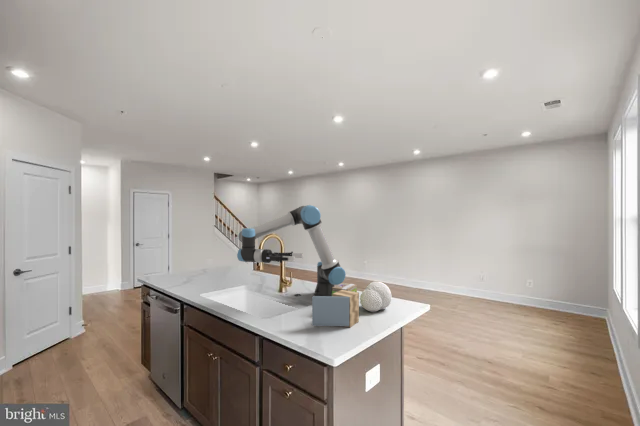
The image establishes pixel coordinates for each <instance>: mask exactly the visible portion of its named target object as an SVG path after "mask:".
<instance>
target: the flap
mask: <svg viewBox="0 0 640 426" xmlns="http://www.w3.org/2000/svg"><path fill="white" fill-rule="evenodd" d="M311 298H312V300H311V301H312V302H311V304H312V305H311V306H312V307H311V308H312V310H311V318H312V319H311V320H312V321H311V322H312V323H311V325H312V326H314V327H315V326H316V327H317V326H322V327H325V326H326V327H345V326H349V297H328V296H315V295H313V296H312V297H311Z"/></svg>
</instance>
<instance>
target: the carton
mask: <svg viewBox="0 0 640 426" xmlns="http://www.w3.org/2000/svg"><path fill="white" fill-rule="evenodd" d="M332 297H349V326H344V327H345V328H352V327H353V326H355V325H356V324H358V323H359V320H360V317H359V315H360V314H359V313H360V292H358V291H357V292H352V291H346V290H340V291H338V292H336V293H333V294H332Z"/></svg>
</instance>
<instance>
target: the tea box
mask: <svg viewBox="0 0 640 426" xmlns="http://www.w3.org/2000/svg"><path fill="white" fill-rule="evenodd" d="M340 290H346V291H352V292H358V285H357V284H354V283H348V282H347V283H346V282H342V283H341V284H338V285H335V286H334V287H332V294H333V293H336V292H338V291H340Z"/></svg>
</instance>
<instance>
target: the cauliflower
mask: <svg viewBox="0 0 640 426" xmlns="http://www.w3.org/2000/svg"><path fill="white" fill-rule="evenodd" d="M392 297H393V296H392V292H391V289H390V288H389V286H388V285H387V284H385V283H383V282H381V281H372V282H370V283H369V284H368V285H367V286H366V287H365V289H363V291H362V292H361V294H360V295H359V304H360V305H361V307H362V308H363V309H364V310H366V311H368V312H373V313H374V312H377V311H379V310H380V311H381V310H384V309H386V308H388V307H389V306H390V304H391V302H392Z"/></svg>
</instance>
